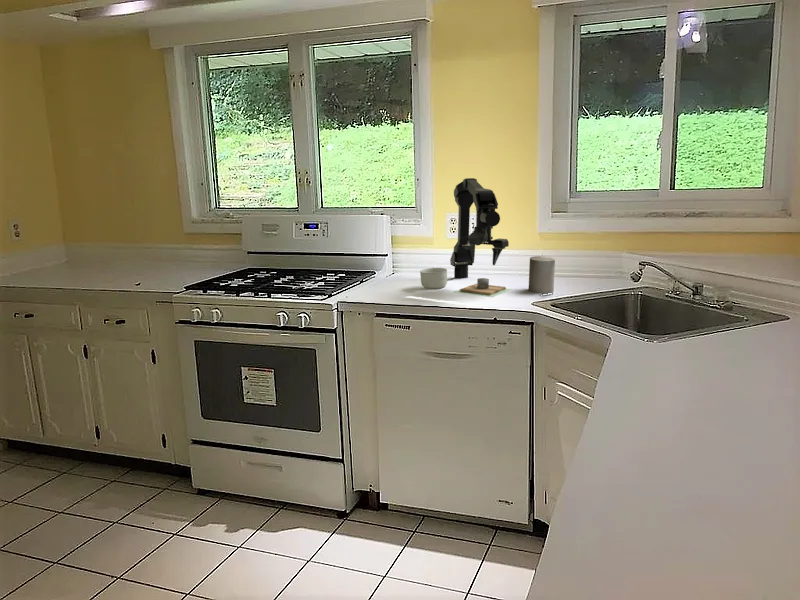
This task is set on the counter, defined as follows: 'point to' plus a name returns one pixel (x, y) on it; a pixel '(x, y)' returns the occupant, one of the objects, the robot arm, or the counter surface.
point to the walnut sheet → (481, 291)
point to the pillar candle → (541, 274)
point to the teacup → (433, 278)
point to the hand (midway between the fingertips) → (483, 264)
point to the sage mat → (485, 295)
